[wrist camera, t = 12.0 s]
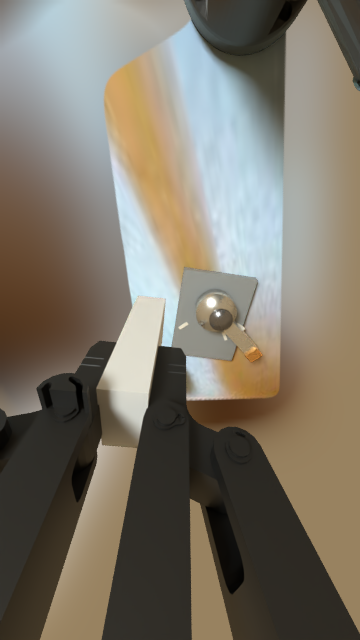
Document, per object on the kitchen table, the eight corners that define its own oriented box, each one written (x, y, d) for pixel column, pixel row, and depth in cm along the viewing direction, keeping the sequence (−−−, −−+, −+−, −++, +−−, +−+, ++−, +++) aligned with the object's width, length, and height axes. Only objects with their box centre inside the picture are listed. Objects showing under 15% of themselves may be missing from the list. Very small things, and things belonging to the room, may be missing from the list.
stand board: (184, 267, 40) (184, 269, 38) (258, 278, 41) (261, 281, 39) (171, 349, 48) (170, 354, 47) (232, 356, 49) (234, 361, 48)
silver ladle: (187, 305, 41) (187, 314, 38) (217, 281, 39) (221, 289, 36) (238, 358, 47) (242, 370, 44) (267, 339, 45) (274, 351, 42)
